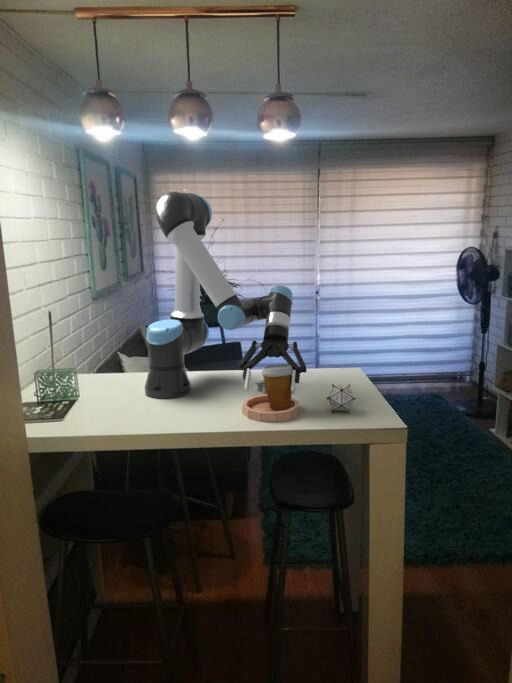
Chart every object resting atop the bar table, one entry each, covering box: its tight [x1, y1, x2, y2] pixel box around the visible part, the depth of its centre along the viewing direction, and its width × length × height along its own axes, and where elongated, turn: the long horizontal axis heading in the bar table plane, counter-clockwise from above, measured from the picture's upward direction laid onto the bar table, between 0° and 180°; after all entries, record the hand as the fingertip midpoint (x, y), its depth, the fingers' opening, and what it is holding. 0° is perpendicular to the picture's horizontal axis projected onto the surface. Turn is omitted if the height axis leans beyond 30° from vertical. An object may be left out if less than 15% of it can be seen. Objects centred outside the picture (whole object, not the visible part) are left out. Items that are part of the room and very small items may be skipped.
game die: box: [325, 383, 357, 414], centre depth 149 cm, size 9×8×10 cm
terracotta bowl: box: [241, 394, 300, 423], centre depth 150 cm, size 16×16×2 cm
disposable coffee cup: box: [261, 363, 294, 409], centre depth 150 cm, size 10×10×12 cm
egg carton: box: [255, 380, 267, 395], centre depth 171 cm, size 11×8×4 cm
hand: (269, 391), depth 147 cm, fingers open, 13 cm apart
